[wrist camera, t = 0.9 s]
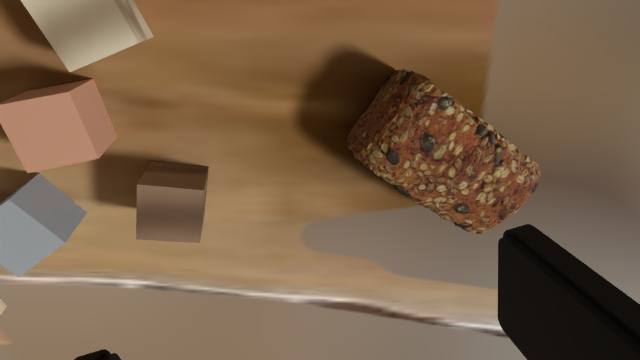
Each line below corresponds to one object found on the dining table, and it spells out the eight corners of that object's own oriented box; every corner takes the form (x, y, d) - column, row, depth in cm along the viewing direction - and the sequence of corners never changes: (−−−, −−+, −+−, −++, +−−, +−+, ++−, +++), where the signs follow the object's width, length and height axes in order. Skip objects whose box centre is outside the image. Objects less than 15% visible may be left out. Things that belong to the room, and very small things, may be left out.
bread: (501, 146, 49) (560, 178, 40) (446, 210, 51) (489, 254, 42) (395, 59, 42) (437, 75, 33) (336, 139, 44) (361, 174, 35)
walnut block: (150, 160, 41) (136, 184, 36) (208, 166, 43) (204, 190, 37) (149, 209, 44) (136, 239, 38) (204, 214, 45) (199, 242, 40)
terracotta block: (27, 90, 36) (-10, 106, 31) (93, 78, 37) (68, 91, 32) (56, 149, 39) (27, 173, 34) (117, 137, 40) (98, 158, 34)
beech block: (52, -5, 34) (17, -6, 28) (115, -32, 34) (92, -38, 28) (94, 61, 36) (69, 72, 31) (153, 36, 36) (138, 43, 31)
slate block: (-4, 205, 40) (-41, 237, 35) (39, 172, 40) (8, 199, 34) (46, 242, 43) (18, 277, 38) (87, 212, 42) (65, 242, 37)
